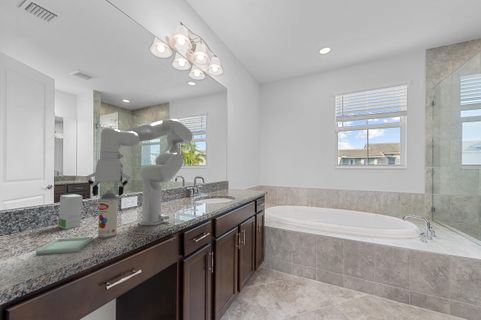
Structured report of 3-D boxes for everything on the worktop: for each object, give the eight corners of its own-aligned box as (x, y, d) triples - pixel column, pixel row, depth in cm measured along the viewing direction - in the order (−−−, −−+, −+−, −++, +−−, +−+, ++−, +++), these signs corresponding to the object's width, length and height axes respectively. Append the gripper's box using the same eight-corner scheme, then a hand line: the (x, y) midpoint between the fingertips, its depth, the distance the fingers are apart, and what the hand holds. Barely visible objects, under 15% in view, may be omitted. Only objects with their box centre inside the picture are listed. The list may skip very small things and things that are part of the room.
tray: (92, 240, 86) (92, 236, 86) (77, 252, 74) (77, 247, 74) (57, 242, 83) (57, 238, 83) (35, 255, 71) (36, 250, 72)
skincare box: (57, 226, 104) (59, 195, 104) (73, 223, 110) (74, 193, 110) (66, 229, 100) (67, 196, 100) (81, 226, 106) (83, 195, 106)
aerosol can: (94, 237, 90) (96, 190, 91) (109, 232, 96) (111, 188, 97) (105, 239, 88) (107, 191, 88) (120, 234, 94) (121, 189, 95)
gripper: (133, 157, 99) (131, 194, 98) (91, 156, 94) (89, 194, 94) (129, 157, 91) (127, 196, 91) (83, 155, 87) (81, 196, 86)
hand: (108, 195), depth 92 cm, fingers open, 9 cm apart
